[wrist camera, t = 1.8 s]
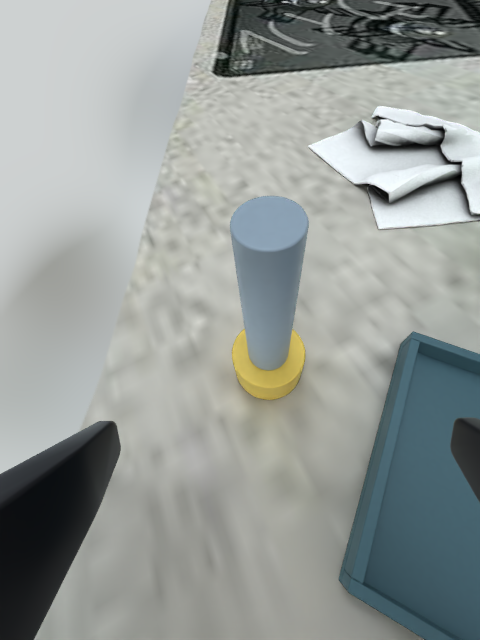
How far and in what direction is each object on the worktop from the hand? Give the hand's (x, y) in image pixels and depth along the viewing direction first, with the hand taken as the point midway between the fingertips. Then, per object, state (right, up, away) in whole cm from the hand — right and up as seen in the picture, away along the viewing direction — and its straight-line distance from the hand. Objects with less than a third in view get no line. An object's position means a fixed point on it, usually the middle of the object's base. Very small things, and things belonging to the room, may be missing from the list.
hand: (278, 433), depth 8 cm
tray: (+13, -7, +9) cm, 17 cm away
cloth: (+18, +20, +24) cm, 36 cm away
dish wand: (+1, -1, +14) cm, 14 cm away
